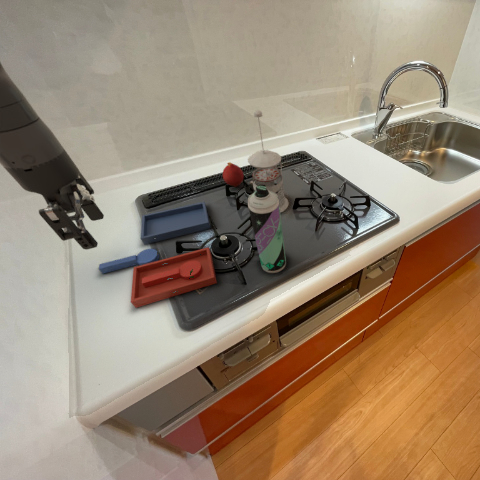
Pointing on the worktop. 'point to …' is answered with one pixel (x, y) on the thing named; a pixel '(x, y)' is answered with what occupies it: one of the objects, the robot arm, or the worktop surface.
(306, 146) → the worktop surface
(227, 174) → the onion
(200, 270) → the red spoon
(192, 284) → the red tray
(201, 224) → the blue tray
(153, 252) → the blue spoon
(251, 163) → the french press
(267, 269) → the spray can
